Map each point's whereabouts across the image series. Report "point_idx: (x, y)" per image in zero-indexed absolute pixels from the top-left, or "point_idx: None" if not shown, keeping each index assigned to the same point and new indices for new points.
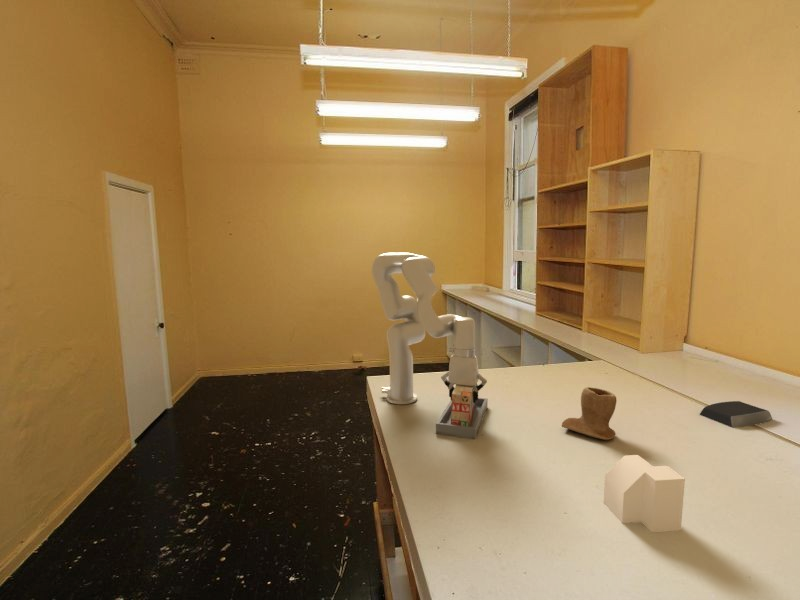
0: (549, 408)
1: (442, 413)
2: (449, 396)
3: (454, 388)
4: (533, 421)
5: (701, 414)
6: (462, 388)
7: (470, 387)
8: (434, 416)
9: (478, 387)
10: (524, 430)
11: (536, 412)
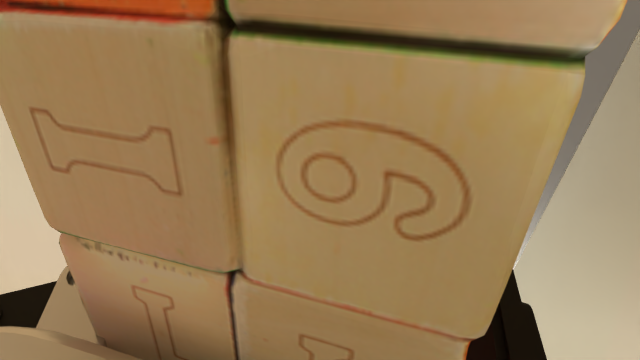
0: (14, 283)
1: (603, 96)
2: (525, 304)
3: (506, 271)
4: (13, 156)
5: None
6: (256, 267)
7: (119, 315)
8: (624, 198)
9: (29, 317)
10: None
11: (39, 250)
